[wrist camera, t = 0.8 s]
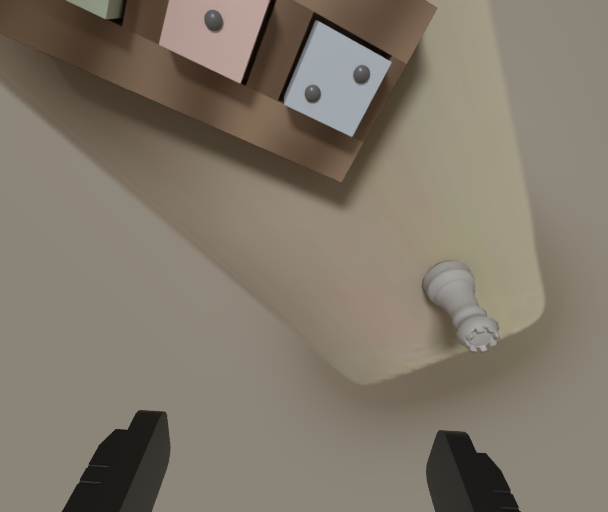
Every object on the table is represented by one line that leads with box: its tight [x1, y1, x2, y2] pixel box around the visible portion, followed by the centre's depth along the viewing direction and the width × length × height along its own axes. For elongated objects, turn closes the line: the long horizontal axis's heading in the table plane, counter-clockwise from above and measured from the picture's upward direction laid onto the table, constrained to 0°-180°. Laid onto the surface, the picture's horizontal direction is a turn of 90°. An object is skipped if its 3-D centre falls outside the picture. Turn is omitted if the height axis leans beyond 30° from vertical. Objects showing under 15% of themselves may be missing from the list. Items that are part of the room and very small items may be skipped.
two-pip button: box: [284, 20, 392, 137], centre depth 22 cm, size 4×4×2 cm
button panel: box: [0, 0, 437, 183], centre depth 22 cm, size 21×11×4 cm, turn 65°
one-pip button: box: [159, 0, 271, 83], centre depth 20 cm, size 4×4×2 cm
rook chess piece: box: [423, 261, 500, 353], centre depth 32 cm, size 4×4×8 cm
